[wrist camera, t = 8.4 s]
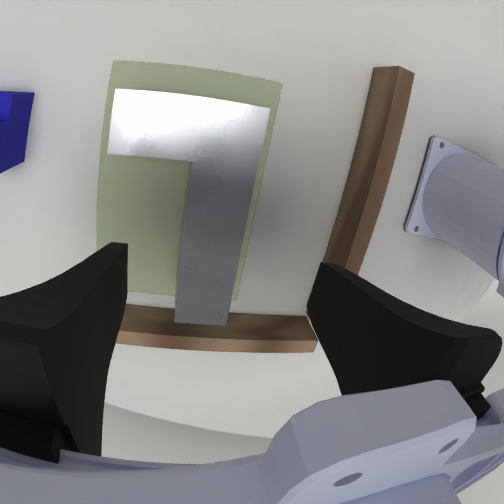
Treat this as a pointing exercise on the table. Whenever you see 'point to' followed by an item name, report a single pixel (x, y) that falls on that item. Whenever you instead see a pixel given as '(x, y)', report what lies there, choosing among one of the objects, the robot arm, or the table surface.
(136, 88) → the mat
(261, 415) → the table surface
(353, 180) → the corner walls
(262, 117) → the bracket
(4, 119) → the cable clip
